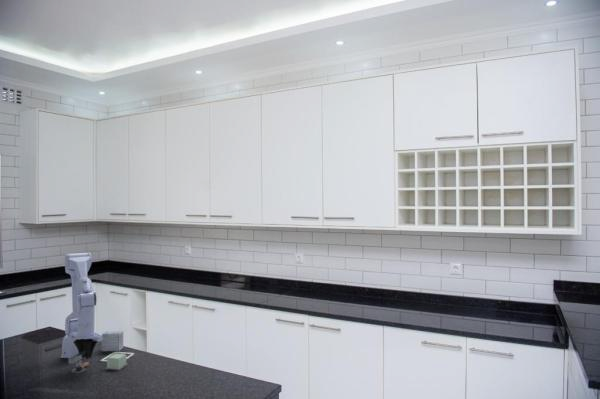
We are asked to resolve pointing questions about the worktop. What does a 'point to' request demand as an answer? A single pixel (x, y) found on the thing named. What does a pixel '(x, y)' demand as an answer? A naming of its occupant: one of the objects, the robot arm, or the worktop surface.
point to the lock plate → (85, 369)
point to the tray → (118, 353)
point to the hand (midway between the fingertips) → (85, 357)
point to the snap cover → (116, 361)
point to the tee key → (78, 360)
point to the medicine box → (112, 341)
